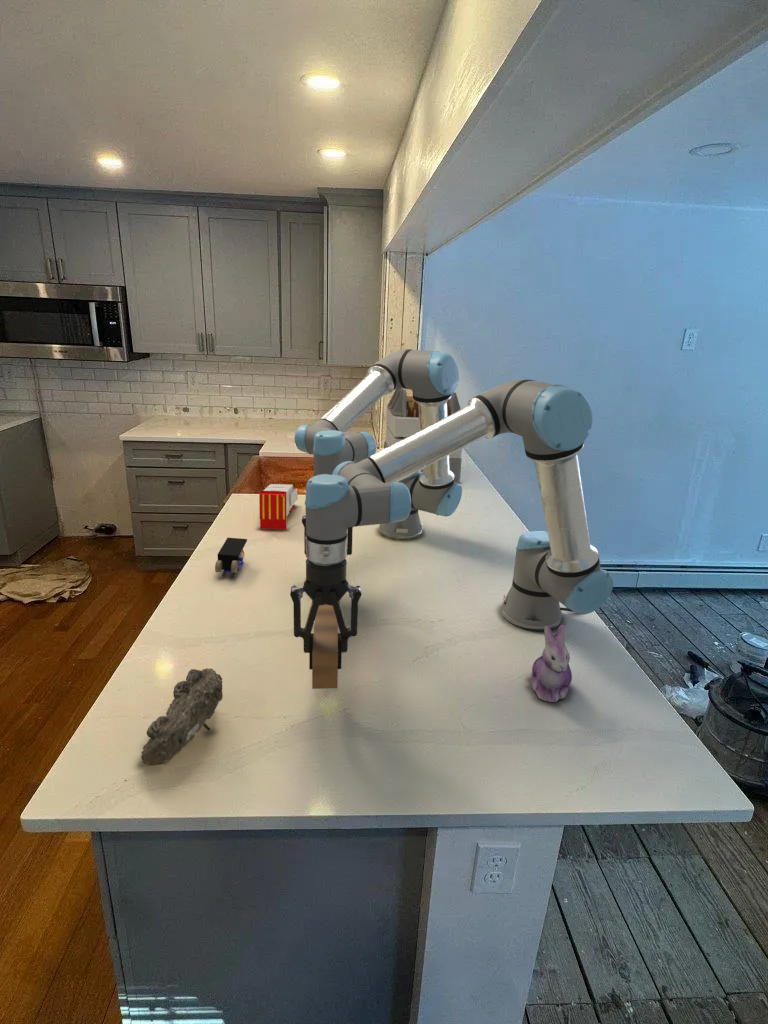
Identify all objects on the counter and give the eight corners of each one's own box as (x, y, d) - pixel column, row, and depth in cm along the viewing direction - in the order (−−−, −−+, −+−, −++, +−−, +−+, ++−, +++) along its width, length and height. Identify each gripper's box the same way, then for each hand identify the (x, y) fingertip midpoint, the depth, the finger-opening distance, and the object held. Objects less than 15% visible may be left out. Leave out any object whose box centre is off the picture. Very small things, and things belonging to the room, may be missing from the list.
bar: (319, 569, 155) (319, 544, 152) (337, 569, 155) (337, 544, 153) (312, 688, 106) (312, 654, 104) (337, 688, 107) (338, 654, 104)
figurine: (550, 710, 114) (561, 646, 109) (517, 681, 122) (526, 620, 117) (585, 697, 118) (597, 635, 113) (550, 670, 127) (560, 611, 121)
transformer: (382, 463, 289) (386, 382, 275) (445, 464, 293) (451, 384, 279) (390, 482, 257) (394, 392, 243) (460, 483, 261) (468, 394, 247)
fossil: (171, 669, 114) (224, 637, 109) (205, 700, 117) (257, 670, 112) (115, 759, 95) (175, 724, 90) (157, 793, 97) (218, 762, 92)
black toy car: (238, 584, 162) (249, 557, 175) (236, 562, 158) (247, 536, 172) (215, 584, 161) (227, 556, 175) (212, 561, 158) (225, 535, 171)
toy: (299, 479, 223) (289, 492, 194) (299, 512, 226) (289, 530, 197) (268, 478, 223) (253, 491, 193) (268, 512, 225) (254, 529, 196)
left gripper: (291, 498, 136) (292, 584, 144) (365, 499, 138) (362, 584, 146) (293, 488, 143) (294, 571, 151) (363, 489, 145) (361, 571, 153)
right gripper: (275, 566, 100) (278, 677, 108) (375, 567, 102) (371, 676, 110) (279, 549, 107) (281, 654, 115) (373, 550, 109) (369, 653, 117)
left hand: (328, 578), depth 149 cm, fingers closed on bar, 5 cm apart
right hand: (325, 664), depth 113 cm, fingers closed on bar, 5 cm apart
